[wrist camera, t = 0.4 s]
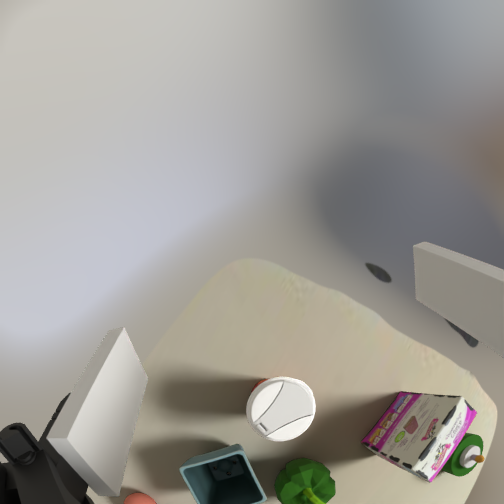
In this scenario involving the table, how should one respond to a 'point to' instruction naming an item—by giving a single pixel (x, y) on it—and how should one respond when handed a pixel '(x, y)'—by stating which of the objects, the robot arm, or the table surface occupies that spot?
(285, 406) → the paper cup
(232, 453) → the flower pot
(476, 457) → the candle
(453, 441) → the candy bar box
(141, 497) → the ball
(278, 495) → the bell pepper
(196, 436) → the table surface
